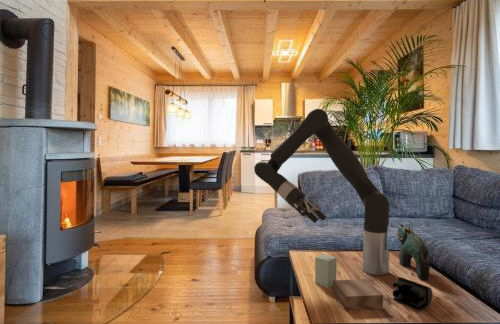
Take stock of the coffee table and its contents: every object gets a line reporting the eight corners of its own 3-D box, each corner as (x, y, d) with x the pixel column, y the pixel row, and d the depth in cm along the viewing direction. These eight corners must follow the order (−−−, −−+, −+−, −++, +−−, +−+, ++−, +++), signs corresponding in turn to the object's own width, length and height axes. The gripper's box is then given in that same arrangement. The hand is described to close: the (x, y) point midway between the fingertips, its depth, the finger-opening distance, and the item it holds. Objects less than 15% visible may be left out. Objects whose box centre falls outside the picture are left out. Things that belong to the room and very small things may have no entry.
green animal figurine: (395, 262, 138) (396, 218, 138) (409, 262, 138) (410, 218, 137) (417, 281, 119) (418, 230, 118) (434, 281, 118) (436, 230, 118)
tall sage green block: (323, 278, 121) (324, 253, 120) (336, 283, 116) (336, 257, 116) (315, 283, 117) (315, 257, 116) (327, 288, 113) (328, 261, 112)
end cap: (432, 305, 100) (433, 285, 100) (421, 312, 96) (421, 290, 96) (402, 293, 109) (403, 274, 108) (391, 299, 105) (391, 279, 104)
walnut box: (365, 292, 110) (365, 279, 109) (382, 310, 98) (383, 294, 98) (332, 294, 109) (332, 280, 108) (346, 312, 97) (346, 296, 96)
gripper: (288, 187, 121) (319, 214, 113) (303, 186, 133) (332, 211, 125) (278, 201, 123) (308, 229, 116) (293, 200, 135) (322, 225, 127)
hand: (321, 220), depth 120 cm, fingers open, 8 cm apart
